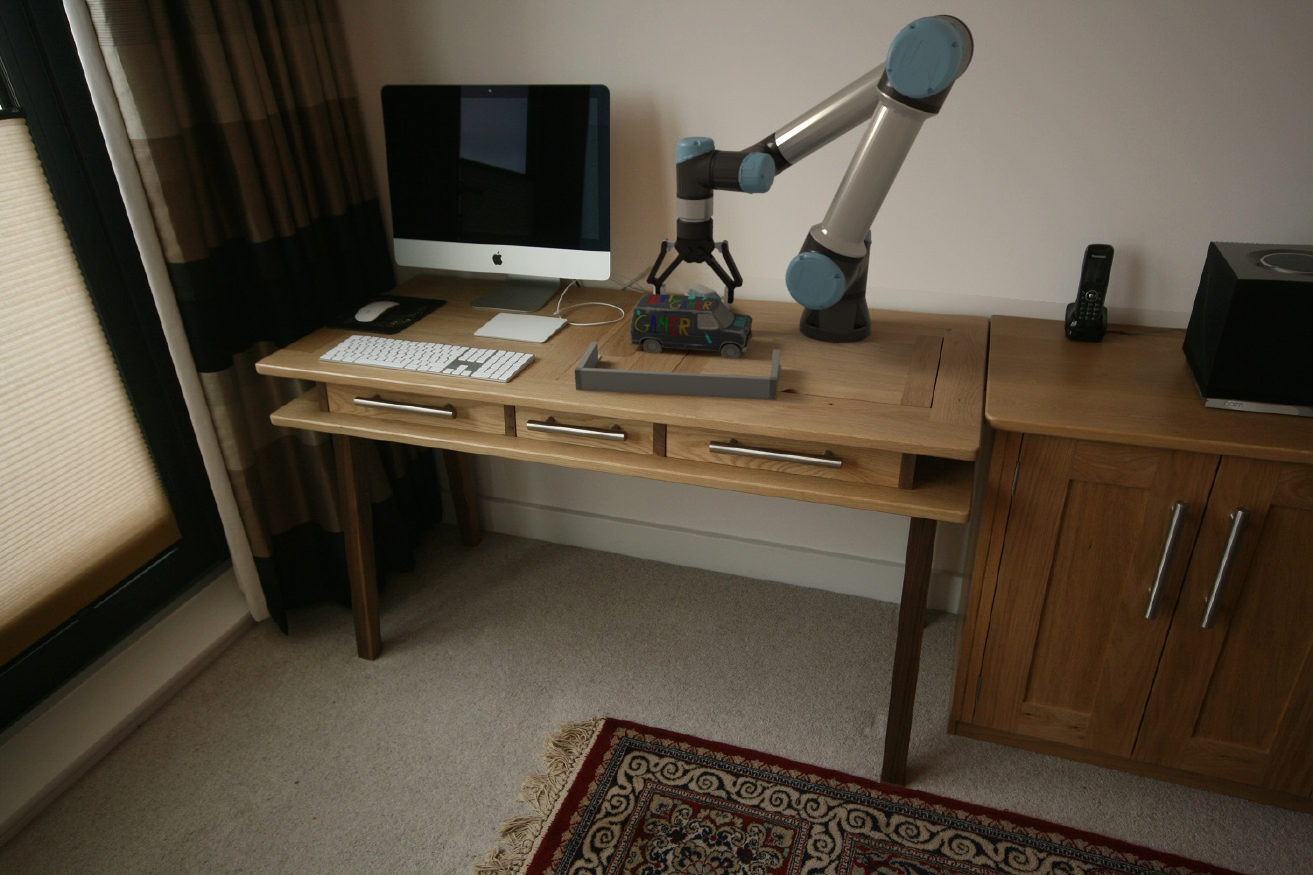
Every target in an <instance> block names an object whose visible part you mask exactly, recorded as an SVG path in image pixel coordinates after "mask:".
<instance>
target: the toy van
mask: <svg viewBox="0 0 1313 875" xmlns="http://www.w3.org/2000/svg"><path fill="white" fill-rule="evenodd" d="M630 319H631V320H630V323H629V333H630V334H629V335H630V339H629V340H628V342H629V345H630V346H633V345H636V346H641V344H642V348H643V350H644V352H647V353H652V354H661V353H662V352H663V348H664V349H665V348H667V349H669V348H670V349H679V350H680V349H681V350H697V351H698V350H699V351H712V352H713V351H714V352H719V351H720V355H721V357H722V358H723V359H729V360H739V358H740V357H741V355H742V353H747V350H748V348H749V345H750V342H751V339H752V338H753V330H752V327H753V326H752V325H753V317H751V316H750V315H749V314H740V313H735V312H732V310H731V311H730V310H729V309H728V308H727V307H726V306H725V305H724V303H723V302H722V301H721V300H720V299H718V298H706V297H700V296H685V295H680V294H679V295H678V294H666V295H661V294H655V293H647V294H643V295H642V296H641V297H640V298H639V299H638V301H637V303H636V304H635V305H634V307H633V309H632V314H631V318H630Z"/></svg>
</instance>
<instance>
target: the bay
mask: <svg viewBox="0 0 1313 875" xmlns="http://www.w3.org/2000/svg"><path fill="white" fill-rule="evenodd" d="M598 345H599V344H598V341H590V343H589V346H587V349H586V350H585V352H584V354H583V355H582V357H581V358H580V360H579V362H578V363H577V365H576V367H575V369H574V379H575V383H574V384H575V390H577V391H593V392H594V391H595V392H596V391H597V392H599V391H600V392H613V393H614V392H616V393H619V392H620V393H634V394H635V393H636V394H637V393H639V394H657V395H672V396H674V395H676V396H693V397H694V396H695V397H696V396H697V397H712V398H730V399H731V398H735V399H750V400H751V399H753V400H772V401H775V400H777V392H778V391H777V390H778V380H779V368H780V349H773V351H772V356H771V358H772V360H771V367H770V376H766V375H764V376H763V375H760V376H759V375H741V374H722V373H721V374H720V373H701V372H700V373H697V372H681V371H680V372H679V371H657V370H638V369H637V370H634V369H615V368H613V369H612V368H596V366H597V364H598V362H599V361H600V359H601V357H602V355H601V354H599V347H598Z"/></svg>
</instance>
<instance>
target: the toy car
mask: <svg viewBox="0 0 1313 875" xmlns="http://www.w3.org/2000/svg"><path fill="white" fill-rule="evenodd" d="M683 294H684V295H685V296H700V297H706V298H718V299H720V300H721V301H722V302H723V303H724V295H721V296H720V294H718V292H717V291H716V290H714V289H712V288H710V287H707V286H705V285H703V284H700V283H698V284H693V285H690V286H688V287H687V288H686V290H685V291H684V293H683ZM729 310H730V311H731V312H732V307H731V304H729Z"/></svg>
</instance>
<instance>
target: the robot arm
mask: <svg viewBox="0 0 1313 875" xmlns="http://www.w3.org/2000/svg"><path fill="white" fill-rule="evenodd" d="M974 41H975V40H974V38H973V34H972V32H971V29H970V28H969V27H968V24H966V22H964V21H963V20H962V19H960V18H959V17H957V16H954V15H951V14H950V15H949V14H938V15H937V14H936V15H930V16H922V17H921V18H917V19H914V20H913V21H911V22H909V23H908V24H906V25H905V26H904V27H903V28H902V29H900V31H899V32H898V33H897V34H896V35H895V37H894V38H893V40H892V41H891V43H890V45H889V48H888V51H887V55H886V60H885V61H883V62H882V63H880V64H879V65H877V66H875V67H874V68H873V69H872V68H871V70H869V71H868V72H866V73H865V74H863V75H861V76H860V77H858V78H857V79H856V80H853V81H852V82H850V83H849V84H848V85H846V86H844V87H843V88H841V89H840V90H838V91H836V92H835V93H833V94H831V95H830V96H829V97H827V98H825V99H824V100H822V101H820V102H819V103H818V104H816V105H814V106H813V107H811V108H810V109H808V110H807V111H804V113H802V114H800V115H799V116H797V117H796V118H794V119H792V120H791V121H790V122H788V123H786V124H784V125H783V126H782V127H779V129H777V130H775V131H774V132H772V133H771V134H769V135H768V136H766V137H765V138H763V139H761V140H760V141H758V142H756V143H755V144H753V145H751V146H748V147H745V148H744V149H742V150H737V151H735V150H720V149H716V146H715V141H714V139H713V138H711V137H707V136H687V137H683V138H681V139H679V140H678V142H677V143H676V153H675V154H676V157H675V170H676V172H675V174H676V177H675V178H676V179H675V180H676V182H675V183H676V196H675V198H676V199H675V200H676V204H675V205H676V206H675V207H676V208H675V210H676V211H675V212H676V213H675V214H676V216H677V219H676V239H675V240H673V241H672V240H669V239H668V238H664V239H663V240H662V242H661V243H660V251H659V254H658V256H657V259H656V261H655V263H654V264H653V266H652V268H651V270H650V273H649V275H648V276H647V278H646V284H648V285H650V284H651V285H653V286H654V288H655V291H654V292H655V293H654V294H661V295H667V293H666V292H667V291H666V290H667V289H666V288H667V287H666V285H667V284H666V283H664V282H665V281H666V280H667V279H668V278H669V276H670V275H672V273H673V272H674V271H675V270H676V268H678V267H679V265H680V264H681V263H682V262H683V261H684V262H685V263H686V264H693V263H695V264H702V263H705V264H707V266H708V267H710V269H711V270H712V271H713V273H715V275H716V276H717V277H718V278H719V280H720V281H721V282H722V283H723V284H724V286H725V287H724V290H723V296H724V298H723V299H724V305H725V306H726V307H727V308H728V309H729V304H730V305H732V304H733V303H734V301H735V289H736V288H741V287H742V286H743V283H744V279H743V277H742V275H741V273H740V270H739V268H738V266H737V265H736V262H735V259H734V258H733V256H732V253H731V252H730V247H729V241H728V240H727V239H724V240H722V241H717V242H715V240H714V219H713V218H712V217H713V215H714V191H725V192H735V193H745V194H750V195H754V194H766V193H768V192H770V190H771V188H772V186H773V184H774V182H775V181H774V180H775V177H777V176H778V175H780V174H782V172H784V171H785V170H787V169H789V168H791V167H792V166H793V165H795V164H797V163H798V162H800V161H802V160H803V159H806V157H808V156H810V155H812V154H813V153H815V152H817V151H819V150H820V149H822V148H824V147H825V146H827V145H829V144H830V143H832V142H834V141H836V140H837V139H838V138H840V137H842V136H843V135H845V134H846V133H848V132H851V131H852V130H853V129H855V128H857V127H858V126H861V125H862V124H864V123H865V122H867V121H868V120H869V122H868V124H867V126H866V129H865V130H864V133H863V135H862V137H861V138H860V141H859V143H858V146H857V147H856V149H855V151H854V153H853V156H852V158H851V160H850V163H849V165H848V166H847V169H846V171H845V172H844V175H843V177H842V179H841V181H840V184H839V186H838V188H837V190H836V192H835V194H834V195H833V198H832V201H831V203H830V204H829V207H828V209H827V211H826V213H825V215H824V218H823V220H822V221H821V222H819V223H816V224H814V225H812V226H811V227H810V228H809V231H808V233H807V235H806V237H805V239H804V241H803V244H802V246H801V248H800V250H799V252H798V253H797V255H795V257H793V258H792V260H791V261H790V262H789V264H788V266H787V269H786V270H785V275H784V276H785V279H784V280H785V286H786V288H787V291H788V293H789V294H790V296H791V297H792V299H793V300H794V301H795V302H796V303H797V304H799V305H800V306H802V307H804V308H803V310H802V312H801V315H800V318H799V331H800V332H801V334H802V335H804V336H806V337H808V338H810V339H814V340H816V341H821V342H828V343H849V342H850V343H851V342H857V341H861V340H863V339H866V338H867V337H869V335H871V331H872V320H871V316H870V312H869V307H868V303H867V299H866V294H867V285H868V284H867V283H868V277H869V276H868V274H869V264H870V255H871V246H872V243H873V240H872V230H871V227H872V225H873V223H874V221H875V220H876V218H877V215H878V213H879V212H880V209H881V207H882V205H883V204H884V202H885V199H886V198H887V196H888V194H889V192H890V190H891V188H892V186H893V184H894V182H895V180H896V178H897V176H898V175H899V174H898V173H899V172H900V170H901V168H902V166H903V164H904V162H905V160H906V158H907V156H908V154H909V152H910V151H911V148H912V147H913V145H914V143H915V140H916V139H917V137H918V135H919V133H920V131H921V129H922V127H923V125H924V123H925V122H926V120H928V119H930V118H933V117H935V116H938V115H939V113H940V111H941V109H942V107H943V105H944V104H945V102H946V100H947V98H948V95H949V94H950V92H951V90H952V88H953V87H954V84H955V83H956V80H958V79H960V77H962V76H963V75H964V73H965V72H966V71H967V70H968V68H969V65H970V64H971V62H972V60H973V56H974V50H975V44H974V43H975V42H974ZM672 248H674V250H675V251H676V252H677V253H678V255H677V256H676V257H674V259H673V261H672V262H671V263H670V264H669V265H668V267H666V269H665V270H664V271H663V272H662V273H661V274H660V275H659V277H656V275H657V274H658V272H659V270H660V267H661V265H662V263H663V261H664V259H665V258H666V255H667V254H668V252H671V251H672ZM715 249H716V250H718V253H720V254H722V258H723V261H724V262H725V265H726V266H727V268H728V271H729V273H730V275H731V276H732V278H733V279H732V278H731V276H730V275H729V274H728V273H727V271H726V270H725V269H724V268H723V266H722V265H721V264H720V263H719V262H718V260H717V259H716V257H715V256H714V255H713V254H712V253H713V251H714V250H715Z"/></svg>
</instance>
